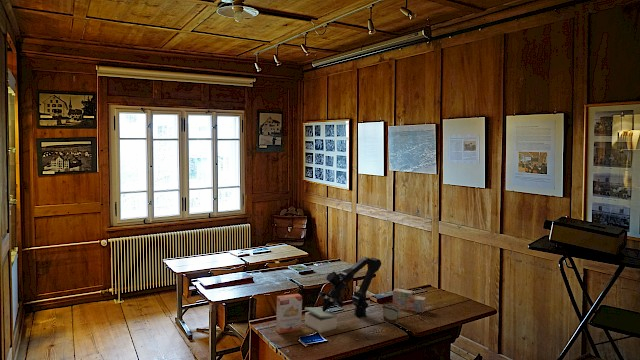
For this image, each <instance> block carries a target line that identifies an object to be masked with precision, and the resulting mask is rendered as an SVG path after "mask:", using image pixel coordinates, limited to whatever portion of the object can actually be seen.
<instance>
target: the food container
mask: <svg viewBox="0 0 640 360" xmlns="http://www.w3.org/2000/svg"><path fill="white" fill-rule="evenodd" d="M381 309H382V316H383V317H382V319H383V320H382V321H383V322H385V321H387V322H386V323H388V322H390V323H389V324H391V323H393V324H392V325H394V324H397V325H398V322H399V314H400V312H401V309H399V307H398V306H396V305H393V304H391V303H389V304H387V303H386V304H382V307H381Z"/></svg>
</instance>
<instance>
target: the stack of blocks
mask: <svg viewBox="0 0 640 360" xmlns="http://www.w3.org/2000/svg"><path fill="white" fill-rule="evenodd" d="M426 301H427V298H426V297H424V296H418V295H414V290H409V289H404V288H403V289H402V288H394V289H393V290H392V305H396V306H398V307H399V308H402V309H407V310H412V311H416V312H415V313H417V312H422V313H423V312H424V311H425V312H426V305H427V304H426V303H427V302H426ZM407 310H406V311H407ZM412 311H411V312H412ZM425 312H424V313H425ZM422 313H421V314H422ZM424 313H423V314H424Z"/></svg>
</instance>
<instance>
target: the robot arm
mask: <svg viewBox="0 0 640 360" xmlns="http://www.w3.org/2000/svg"><path fill="white" fill-rule="evenodd" d="M365 266H367V270H366V273H365V275H364V277H363V280H362V282H361V284H360V287H359V289H358V290H357V291H356V290H355V291H354V292H353V295H352V296H351V297H352V298H351V300H352V301H351V302H352V304H353V306H355V307H354V316H355V317H356V318H357V319H358V318H359V319H360V318H367V309H368V308H369V303H368V302H367V301H366V300H367V292H368V289H369V287H370V285H371V282H372V280H373V277H374V275H375V274H376V272H378V271H379V269H380V268H381V266H382V260H381V259H379V258H375V257H367V256H363V257H361V259H359V260H358V261H357V262H355V263H354V264H353V265H352V266H350V267H349V268H346V269H344V270H342V271H340V272H339V273H336V272H335V271H333V270H332V272H330V273H328V274H327V276H326V281H327V282H329V284H331V285H332V286H333V287H330V291H329V292H327V293H326V292H324V291H320V292H319V293H318V295H319V297H321V298H322V299H323V302H322V303H323V304H322V308H323V309H322V311H325V310H327V311H328V309H330V308H331V307H333V306H335V307H336V306H337V307H339V308H342V307H344V302H343V300H342V298H341V296H342V294H341V293H342V292H343V290H344V288H346V289H347V288H348V283H350V282H352V280H353V279H354V277H355V275H356V274H357V273H358V272H359V271H361V270H362V269H363V268H364V267H365Z"/></svg>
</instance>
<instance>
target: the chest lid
mask: <svg viewBox="0 0 640 360" xmlns="http://www.w3.org/2000/svg"><path fill="white" fill-rule="evenodd" d="M322 309H323V307H316V306H315V307H304V310H306V311H307V312H311V313H313V314H315V315H317V316H319V317H337V318H338V315H337V314H335V313H334V312H332V311H328V309H327V310H325V311H322Z"/></svg>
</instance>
